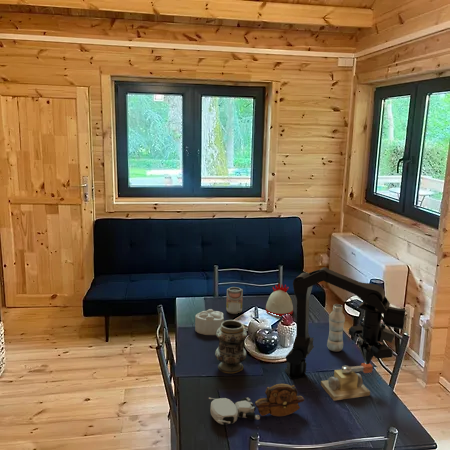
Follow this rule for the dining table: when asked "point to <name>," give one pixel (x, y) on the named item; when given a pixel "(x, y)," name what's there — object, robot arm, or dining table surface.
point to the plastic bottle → (336, 329)
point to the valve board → (345, 393)
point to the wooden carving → (279, 400)
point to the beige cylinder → (234, 300)
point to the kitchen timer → (279, 301)
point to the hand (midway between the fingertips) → (367, 363)
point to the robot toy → (232, 410)
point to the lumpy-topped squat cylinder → (208, 322)
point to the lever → (357, 368)
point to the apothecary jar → (231, 346)
